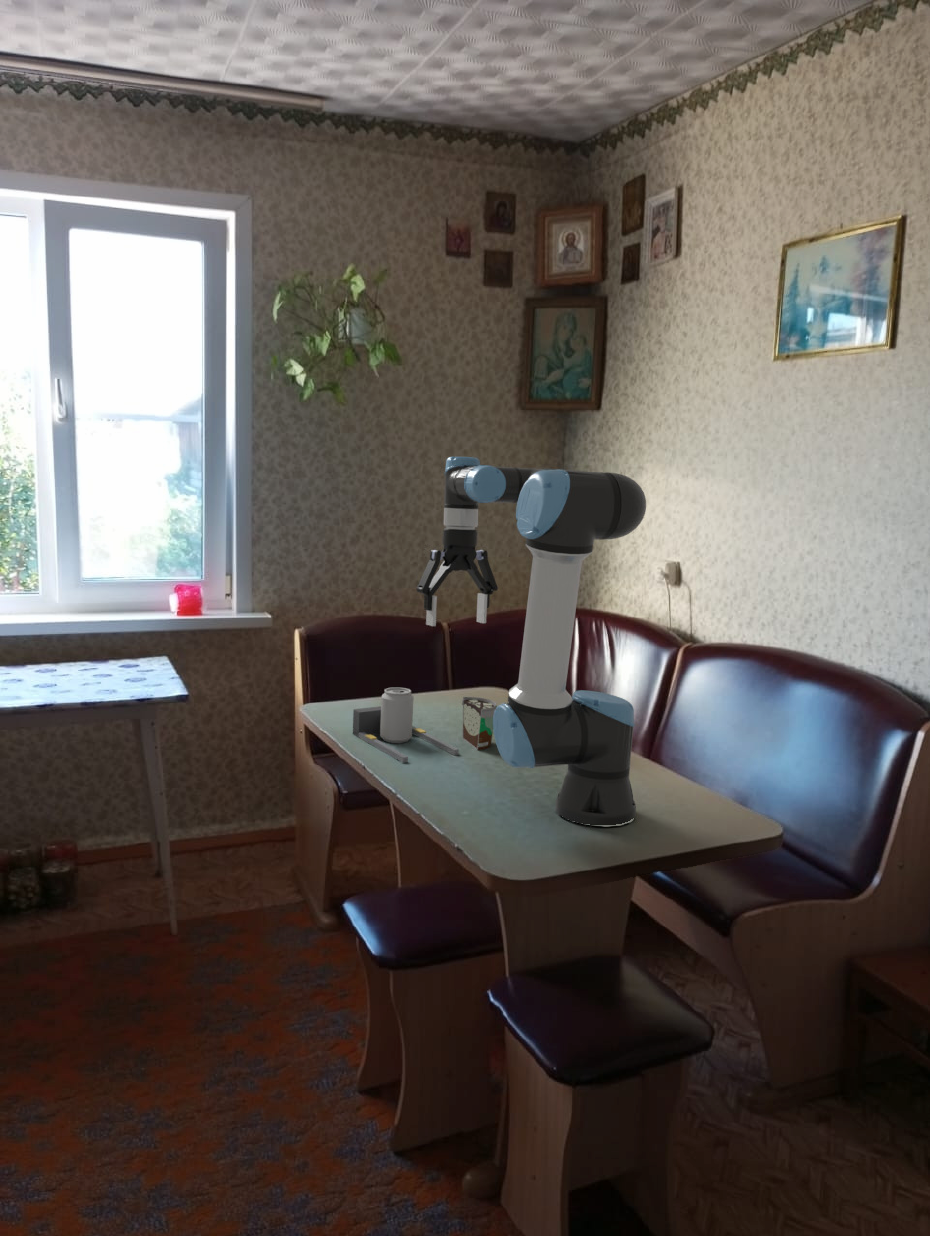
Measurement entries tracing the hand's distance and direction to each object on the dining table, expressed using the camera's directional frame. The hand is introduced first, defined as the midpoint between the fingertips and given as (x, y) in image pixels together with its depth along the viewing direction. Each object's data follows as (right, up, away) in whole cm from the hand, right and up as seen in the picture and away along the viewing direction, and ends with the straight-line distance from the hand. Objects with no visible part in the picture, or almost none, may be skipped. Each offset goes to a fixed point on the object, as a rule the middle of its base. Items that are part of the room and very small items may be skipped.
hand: (456, 624), depth 213 cm
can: (-14, -27, +12) cm, 33 cm away
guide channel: (-12, -28, +8) cm, 31 cm away
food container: (+6, -28, +12) cm, 31 cm away
